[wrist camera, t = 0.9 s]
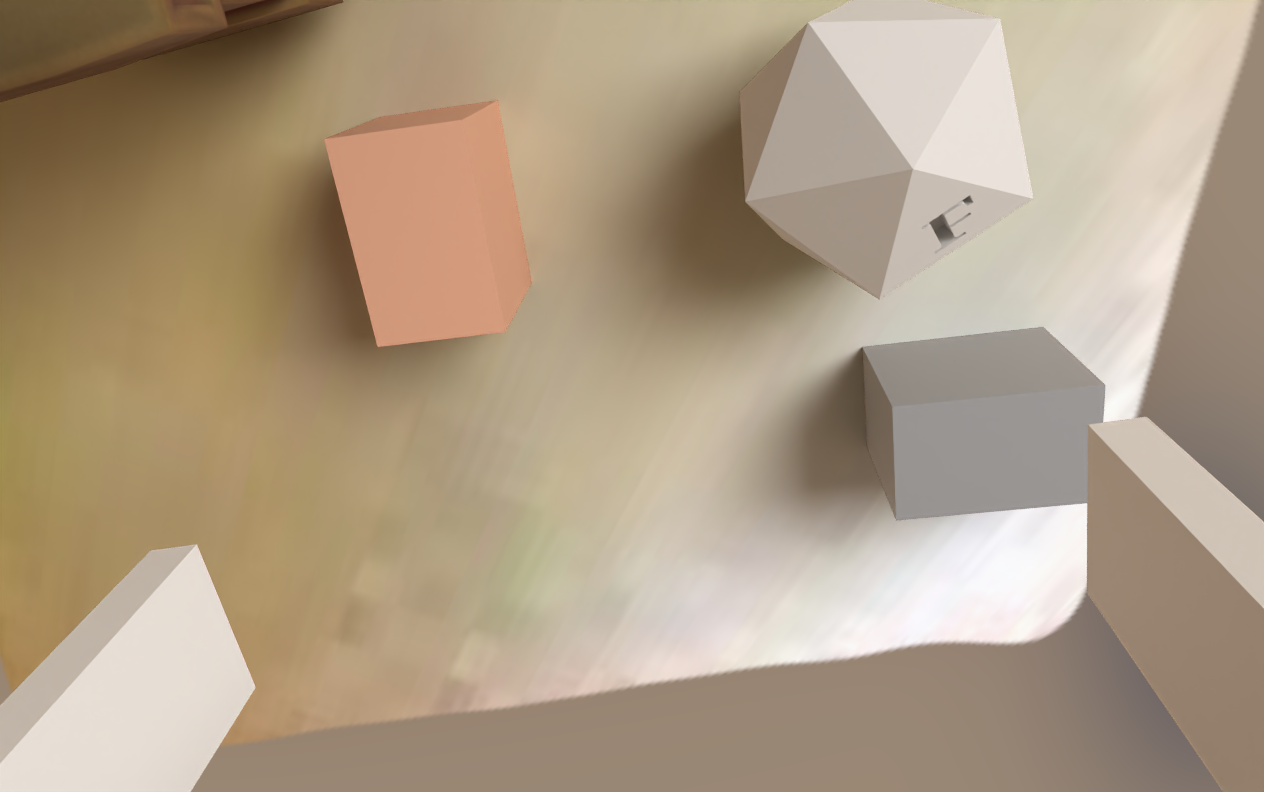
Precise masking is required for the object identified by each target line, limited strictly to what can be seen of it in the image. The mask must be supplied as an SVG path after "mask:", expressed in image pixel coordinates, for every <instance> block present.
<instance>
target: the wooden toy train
mask: <svg viewBox="0 0 1264 792" xmlns="http://www.w3.org/2000/svg"><path fill="white" fill-rule="evenodd" d="M342 2H343V0H0V102H2V101H5V100H9V99H12V98H16V97H19V96H23V95H26V94H30V93H33V92H37V91H40V90H44V89H47V88H51V87H54V86H58V85H61V84H65V83H68V82H72V81H75V80H79V79H82V78H86V77H89V76H93V75H96V74H100V73H103V72H107V71H110V70H114V69H117V68H119V67H122V66H125V65H128V64H130V63H133V62H136V61H138V60H142V59H146V58H150V57H153V56H157V55H160V54H164V53H167V52H171V51H174V50H178V49H181V48H185V47H188V46H192V45H195V44H199V43H202V42H206V41H209V40H213V39H216V38H220V37H223V36H227V35H230V34H234V33H237V32H241V31H244V30H248V29H251V28H255V27H258V26H262V25H265V24H269V23H272V22H276V21H279V20H283V19H286V18H290V17H293V16H297V15H300V14H304V13H307V12H311V11H314V10H317V9H321V8H324V7H328V6H331V5H335V4H338V3H342Z"/></svg>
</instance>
